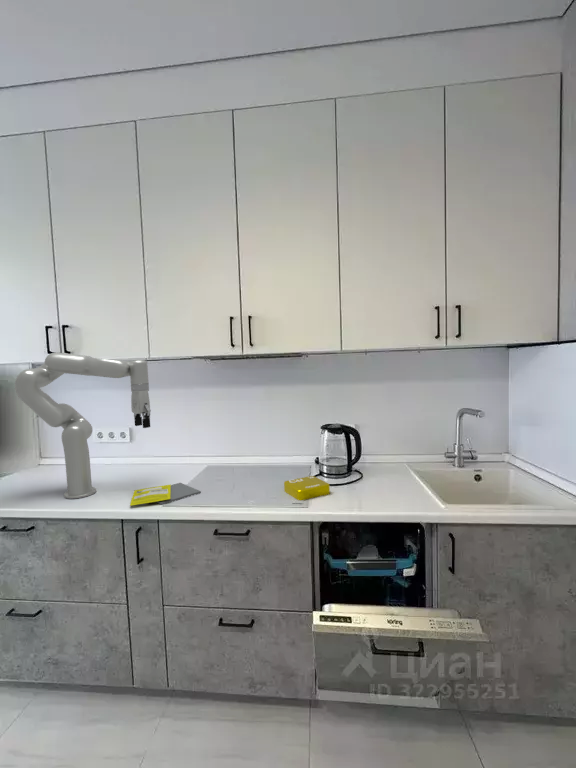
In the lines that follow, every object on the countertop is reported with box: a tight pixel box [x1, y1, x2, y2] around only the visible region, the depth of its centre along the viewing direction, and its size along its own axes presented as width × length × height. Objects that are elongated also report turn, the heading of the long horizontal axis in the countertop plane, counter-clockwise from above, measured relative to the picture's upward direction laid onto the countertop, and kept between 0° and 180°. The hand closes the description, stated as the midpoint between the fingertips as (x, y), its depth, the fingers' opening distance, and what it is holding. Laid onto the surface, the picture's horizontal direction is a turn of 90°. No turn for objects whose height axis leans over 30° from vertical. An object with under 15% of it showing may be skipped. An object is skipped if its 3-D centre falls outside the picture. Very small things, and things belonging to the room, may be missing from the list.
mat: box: [155, 482, 202, 506], centre depth 172 cm, size 18×18×1 cm
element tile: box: [283, 475, 331, 501], centre depth 167 cm, size 15×15×5 cm
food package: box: [129, 484, 172, 507], centre depth 169 cm, size 15×1×20 cm
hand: (142, 426), depth 181 cm, fingers open, 8 cm apart
